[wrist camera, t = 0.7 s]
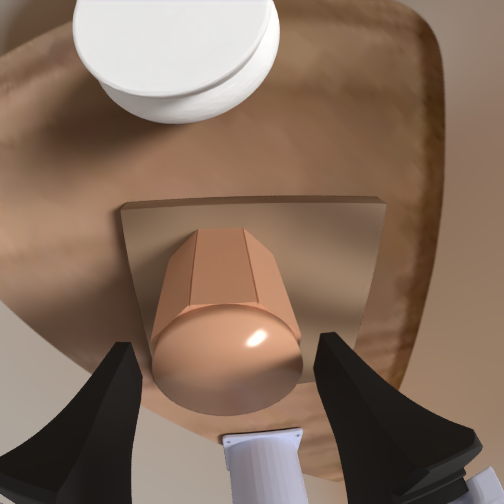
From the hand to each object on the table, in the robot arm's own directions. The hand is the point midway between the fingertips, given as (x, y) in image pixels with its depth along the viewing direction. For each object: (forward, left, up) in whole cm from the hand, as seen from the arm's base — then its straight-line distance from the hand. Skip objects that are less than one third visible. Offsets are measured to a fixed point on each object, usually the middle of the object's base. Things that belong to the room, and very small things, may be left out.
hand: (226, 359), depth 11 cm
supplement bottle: (+11, +1, -8) cm, 13 cm away
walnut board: (-3, -2, -7) cm, 8 cm away
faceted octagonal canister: (0, 0, -6) cm, 6 cm away
